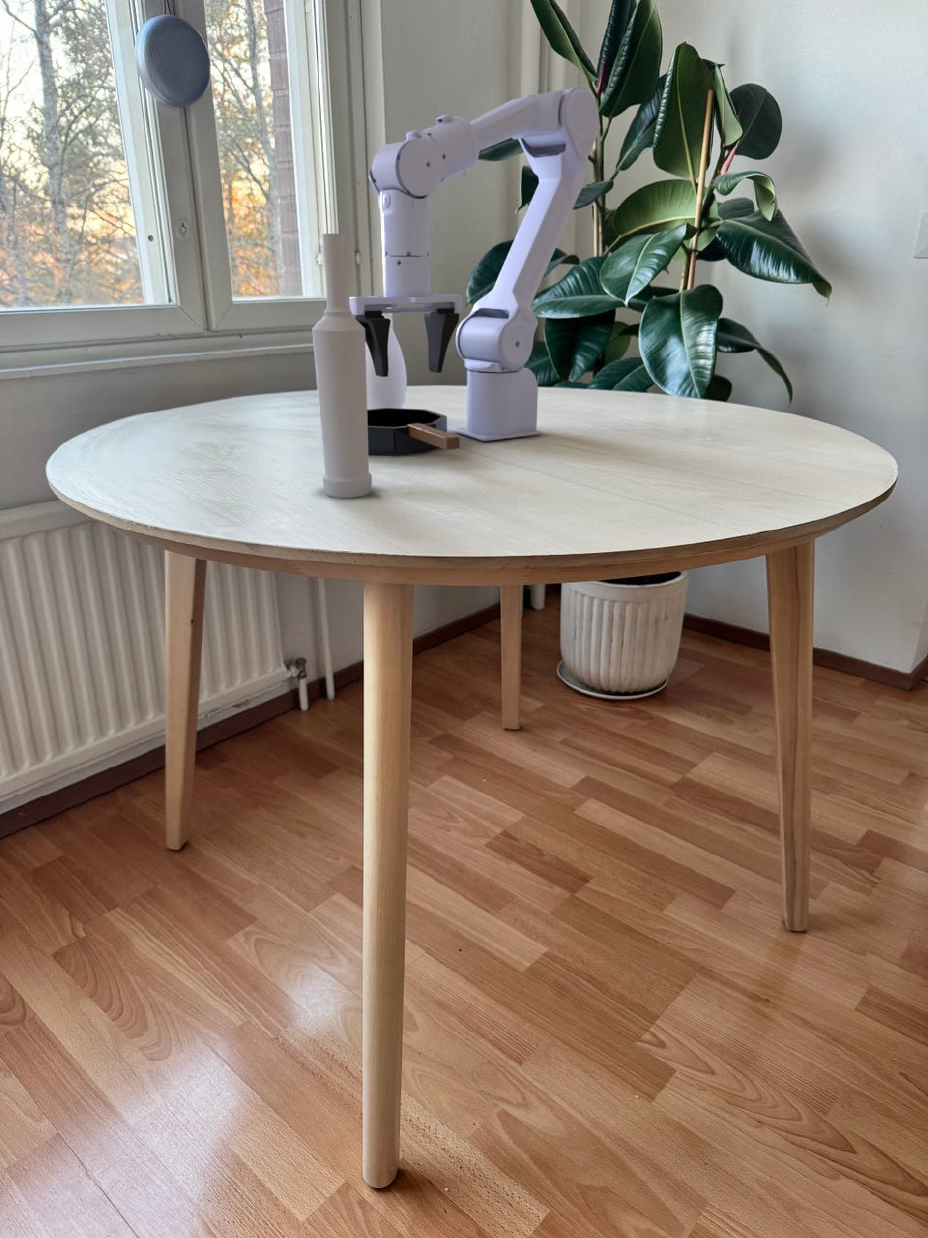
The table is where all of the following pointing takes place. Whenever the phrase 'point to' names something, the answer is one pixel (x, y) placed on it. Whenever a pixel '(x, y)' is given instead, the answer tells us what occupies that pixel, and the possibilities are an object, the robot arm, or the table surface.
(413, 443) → the pan
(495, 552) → the table surface
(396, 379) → the sauce bottle
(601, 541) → the table surface
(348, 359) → the bottle
